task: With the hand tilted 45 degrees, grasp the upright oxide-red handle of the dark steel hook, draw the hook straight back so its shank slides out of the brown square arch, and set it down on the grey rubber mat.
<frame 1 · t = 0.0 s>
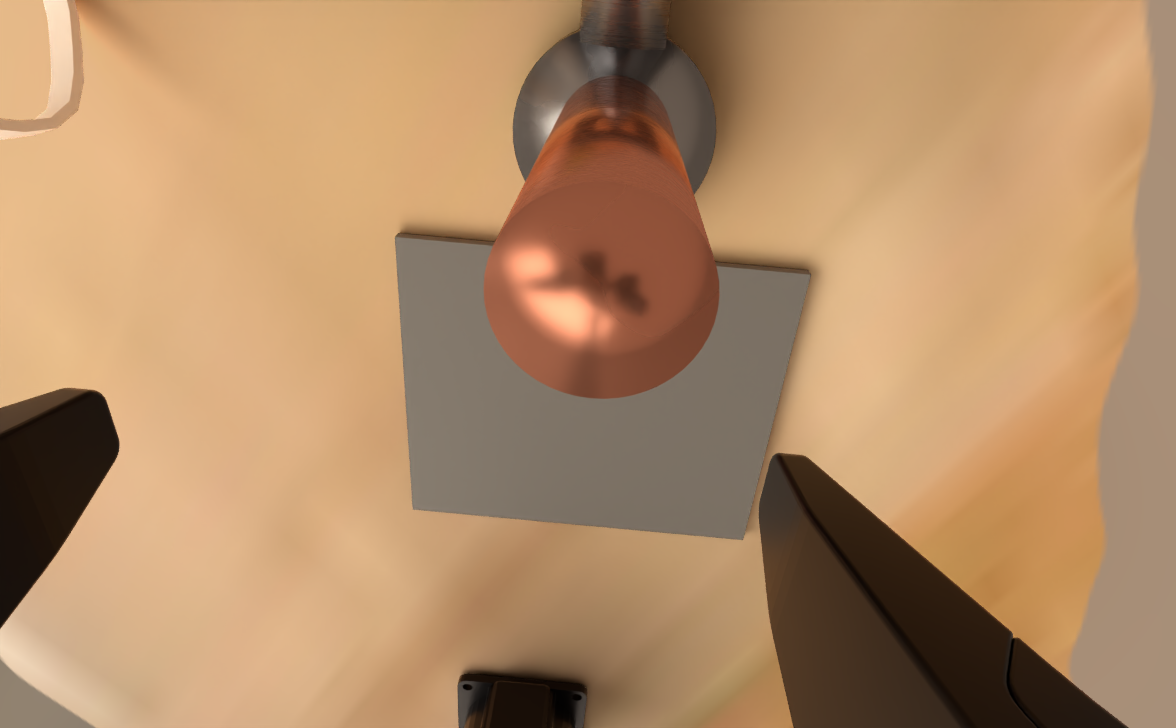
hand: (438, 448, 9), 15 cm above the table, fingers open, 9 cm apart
mat: (589, 400, 26), on the table
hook: (614, 129, 21), on the table
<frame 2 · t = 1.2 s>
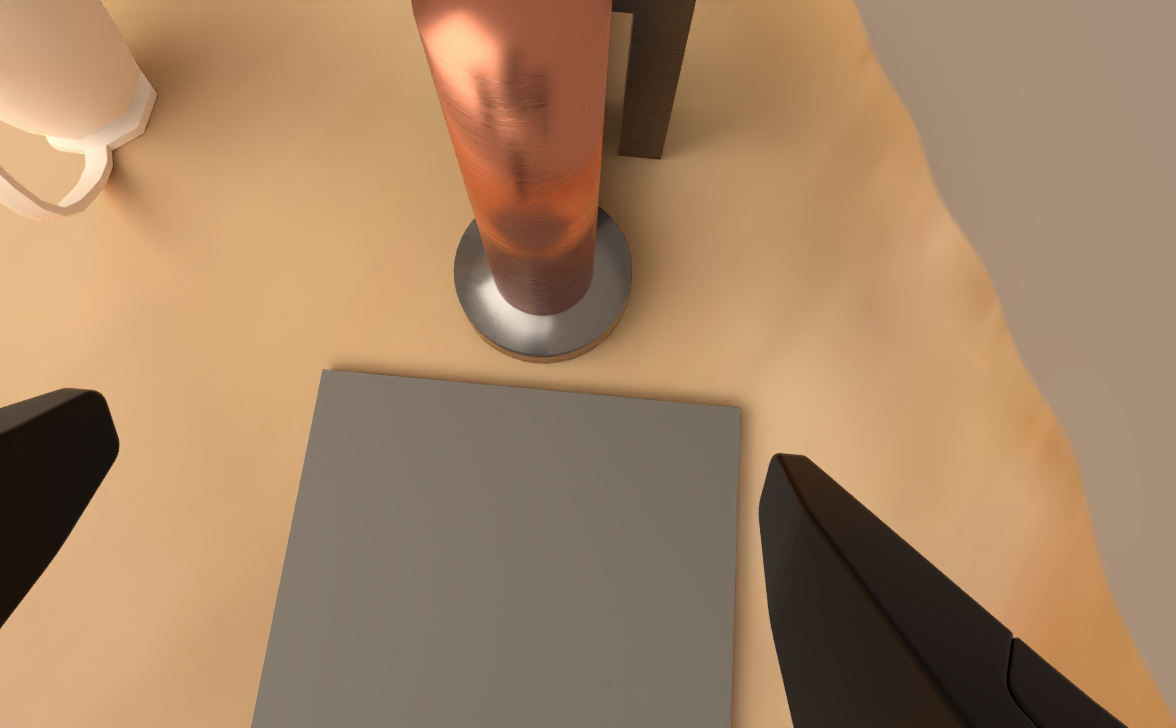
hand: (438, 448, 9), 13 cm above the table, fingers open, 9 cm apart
cup: (104, 143, 25), on the table
mat: (510, 575, 21), on the table
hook: (544, 281, 24), on the table
brown square arch: (562, 122, 26), on the table
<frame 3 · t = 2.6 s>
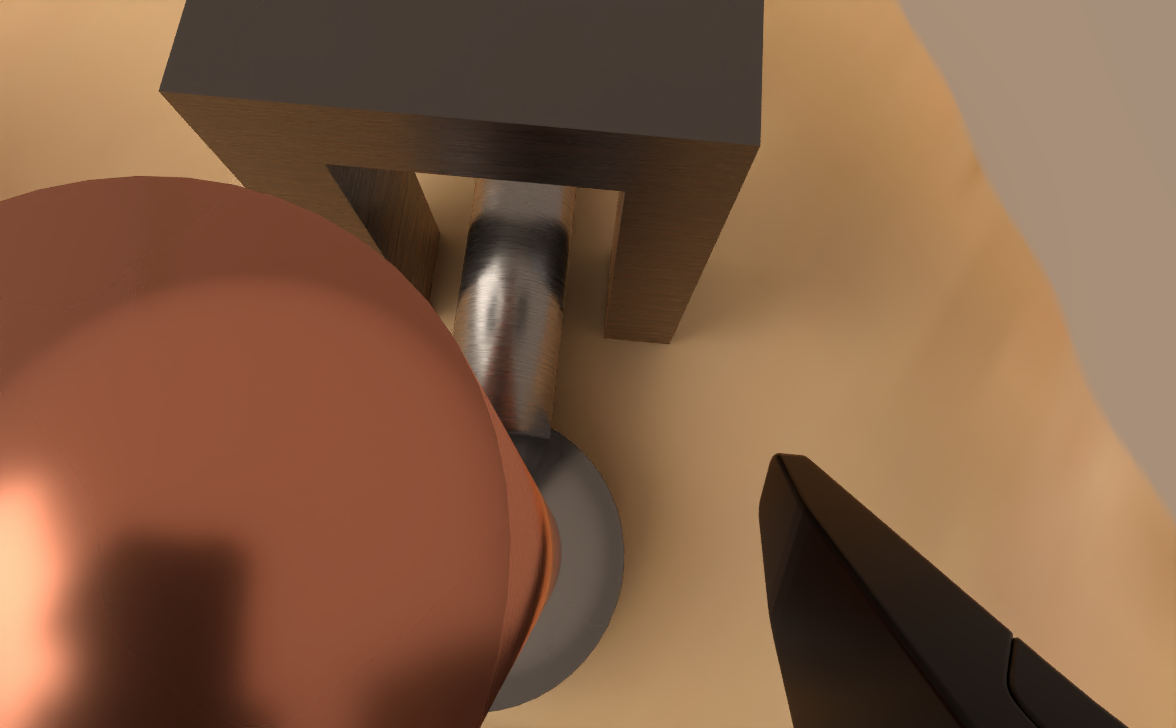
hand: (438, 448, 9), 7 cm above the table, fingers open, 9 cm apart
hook: (486, 553, 15), on the table
brown square arch: (520, 284, 17), on the table
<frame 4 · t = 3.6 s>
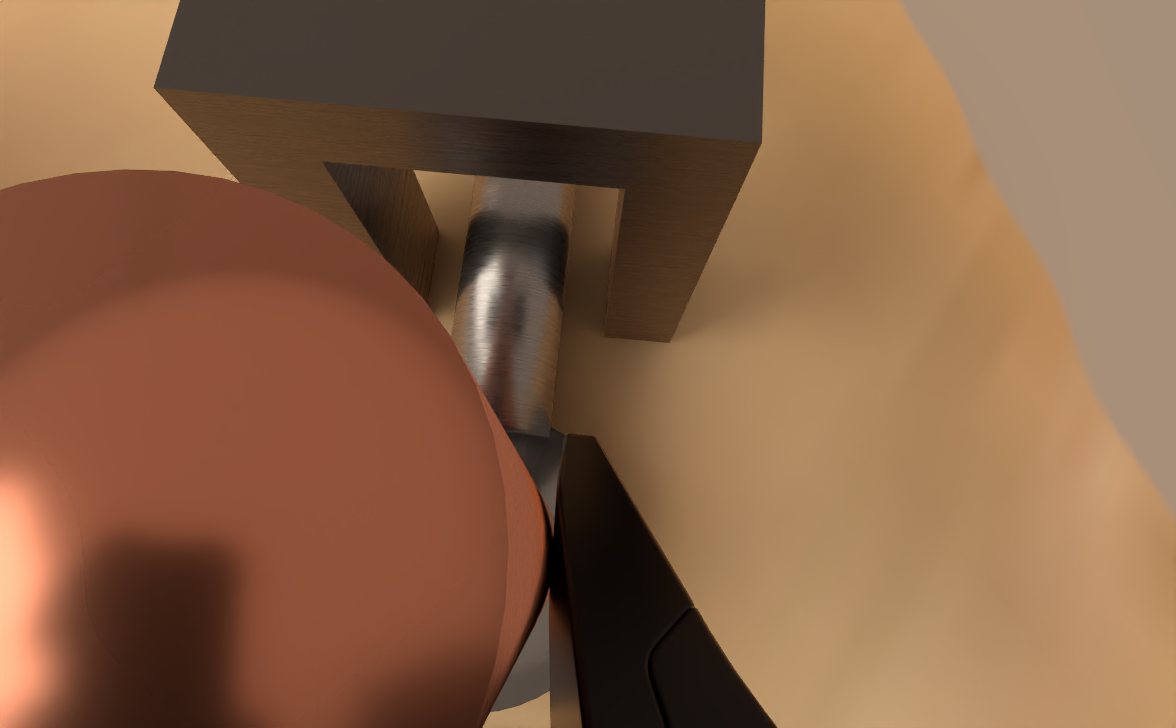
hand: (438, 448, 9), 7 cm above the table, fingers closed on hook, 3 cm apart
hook: (486, 552, 15), on the table, touching gripper
brown square arch: (519, 282, 17), on the table
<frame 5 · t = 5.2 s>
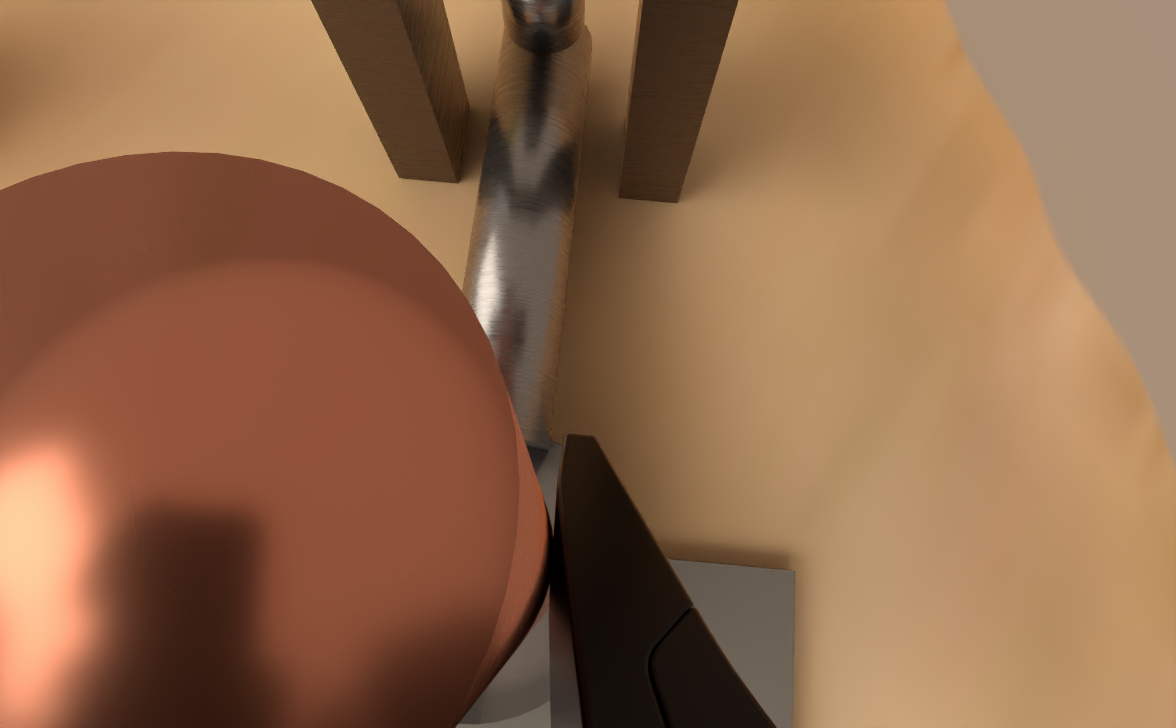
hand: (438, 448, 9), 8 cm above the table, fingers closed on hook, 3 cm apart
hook: (485, 564, 15), point 1 cm above the table, touching gripper
brown square arch: (542, 151, 19), on the table
when the fingers open (7 cm above the table, at t = 6.9 s): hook stays where it is, resting on mat.
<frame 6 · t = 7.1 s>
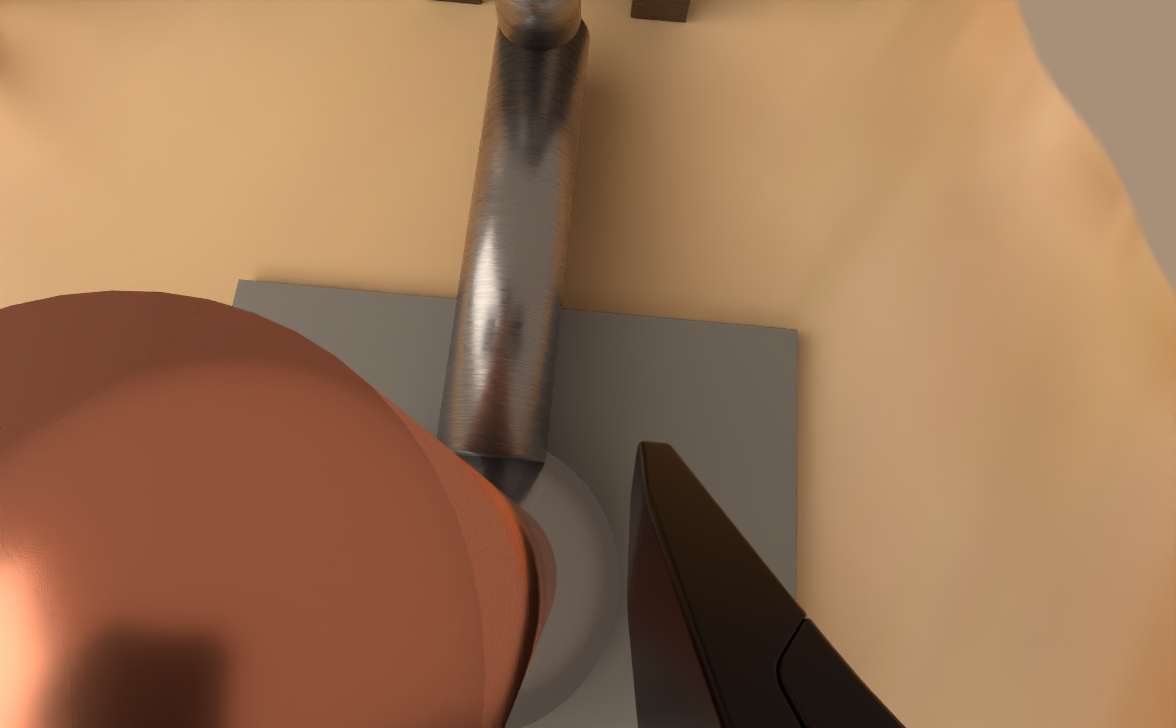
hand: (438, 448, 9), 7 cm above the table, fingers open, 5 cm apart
mat: (489, 553, 16), on the table
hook: (482, 576, 15), resting on mat
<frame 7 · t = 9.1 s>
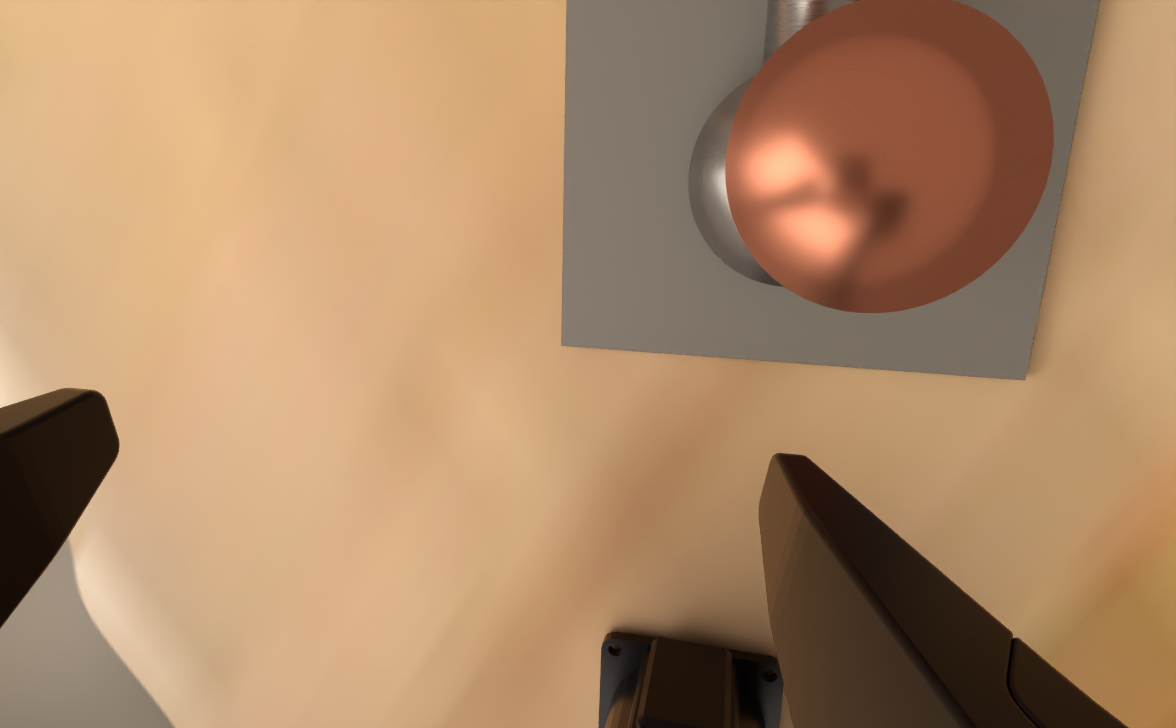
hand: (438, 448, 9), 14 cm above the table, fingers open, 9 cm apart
mat: (796, 162, 20), on the table
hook: (794, 179, 20), resting on mat
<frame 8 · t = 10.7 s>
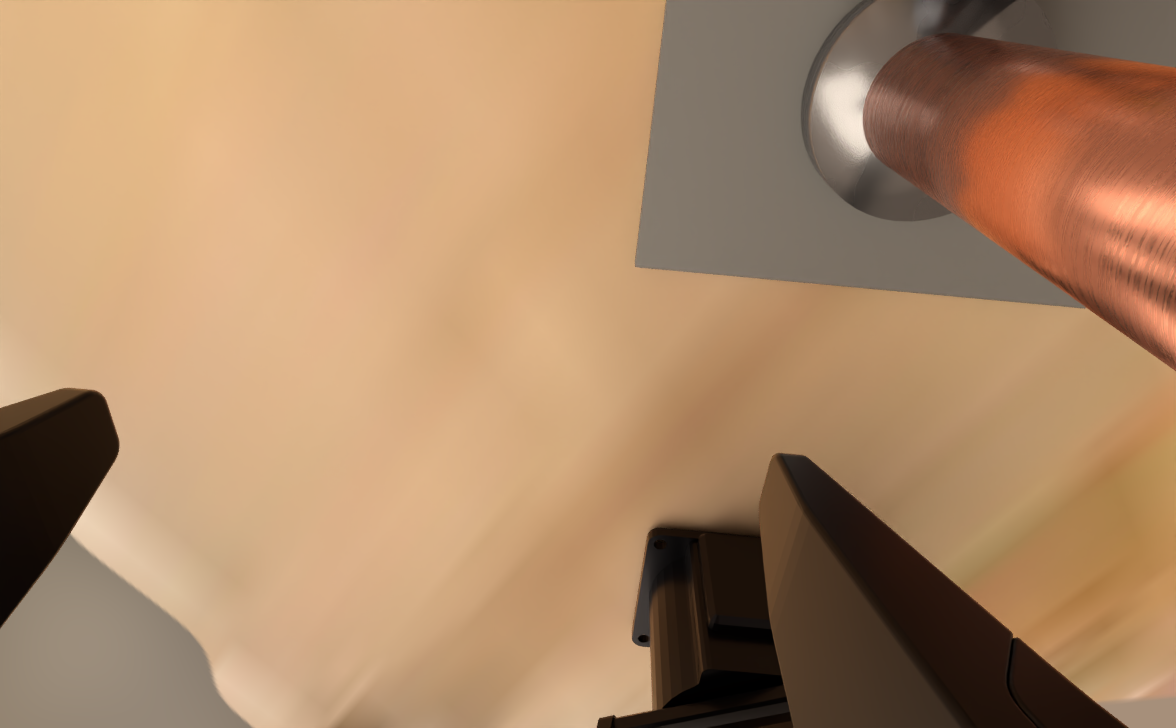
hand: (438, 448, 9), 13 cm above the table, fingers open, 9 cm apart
mat: (916, 78, 18), on the table
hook: (914, 99, 18), resting on mat
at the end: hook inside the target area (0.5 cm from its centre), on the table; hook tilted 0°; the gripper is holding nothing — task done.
